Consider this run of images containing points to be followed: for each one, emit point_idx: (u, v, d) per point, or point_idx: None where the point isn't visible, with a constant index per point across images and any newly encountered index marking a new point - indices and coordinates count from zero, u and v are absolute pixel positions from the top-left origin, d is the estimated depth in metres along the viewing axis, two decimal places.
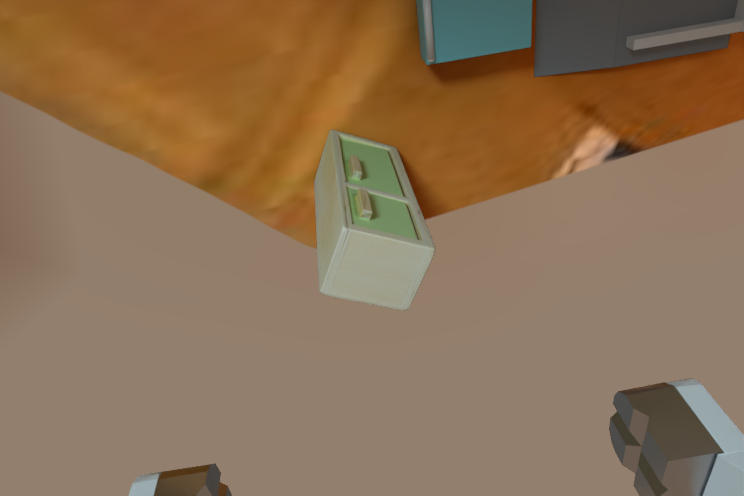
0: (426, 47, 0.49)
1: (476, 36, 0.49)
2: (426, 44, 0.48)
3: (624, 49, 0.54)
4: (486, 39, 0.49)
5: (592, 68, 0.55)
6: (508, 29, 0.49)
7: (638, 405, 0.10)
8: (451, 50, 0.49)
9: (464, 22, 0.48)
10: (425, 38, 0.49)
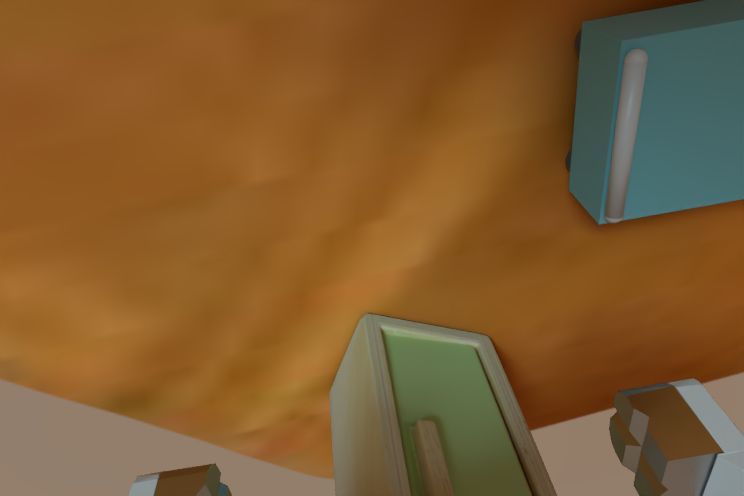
0: (608, 191, 0.20)
1: (727, 163, 0.20)
2: (609, 185, 0.20)
3: None
4: None
5: None
6: None
7: (638, 405, 0.10)
8: (662, 194, 0.21)
9: (706, 135, 0.20)
10: (607, 171, 0.20)
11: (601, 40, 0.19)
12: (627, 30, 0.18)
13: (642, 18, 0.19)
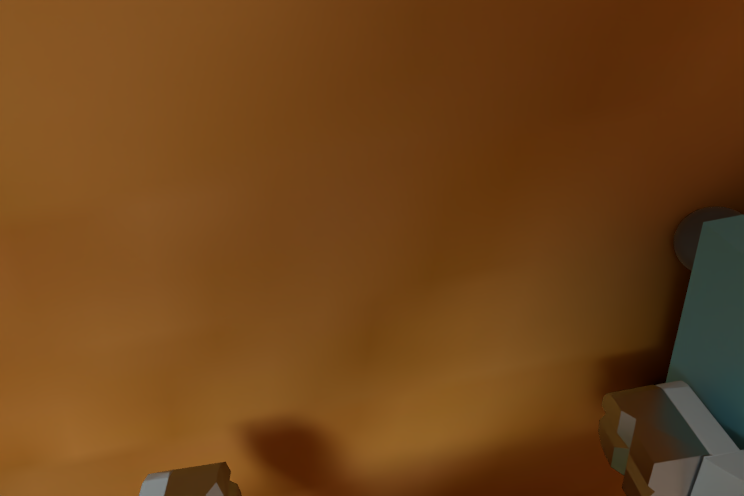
0: None
1: None
2: None
3: None
4: None
5: None
6: None
7: (625, 407, 0.10)
8: None
9: None
10: None
11: None
12: None
13: None
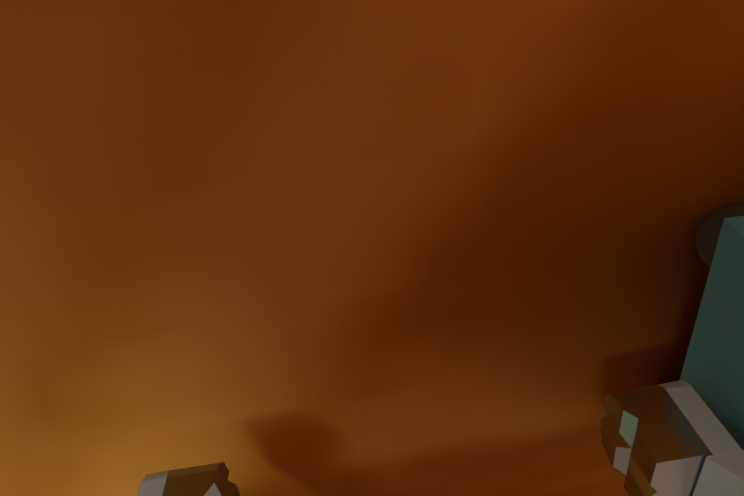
0: None
1: None
2: None
3: None
4: None
5: None
6: None
7: (628, 407, 0.10)
8: None
9: None
10: None
11: None
12: None
13: None
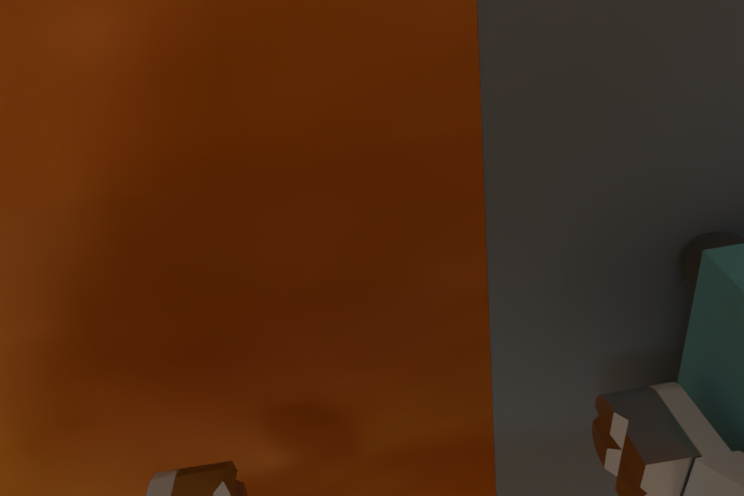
0: None
1: None
2: None
3: None
4: None
5: None
6: None
7: (618, 408, 0.10)
8: None
9: None
10: None
11: None
12: None
13: None
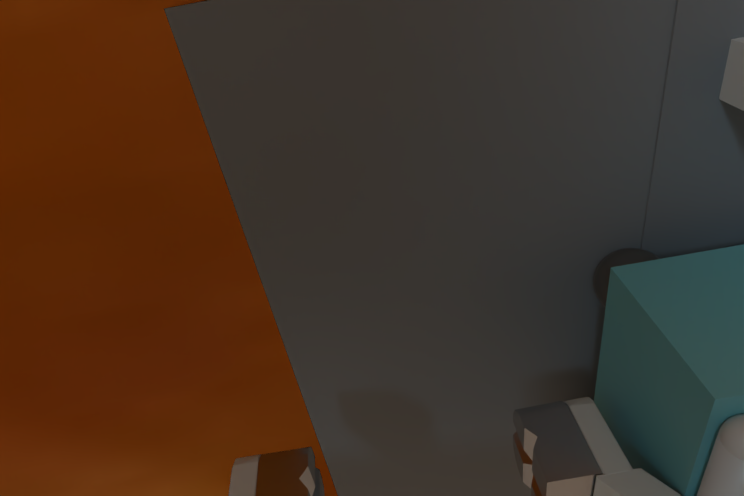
0: None
1: None
2: None
3: None
4: None
5: None
6: None
7: (529, 424, 0.10)
8: None
9: None
10: None
11: (655, 341, 0.08)
12: (718, 335, 0.08)
13: None
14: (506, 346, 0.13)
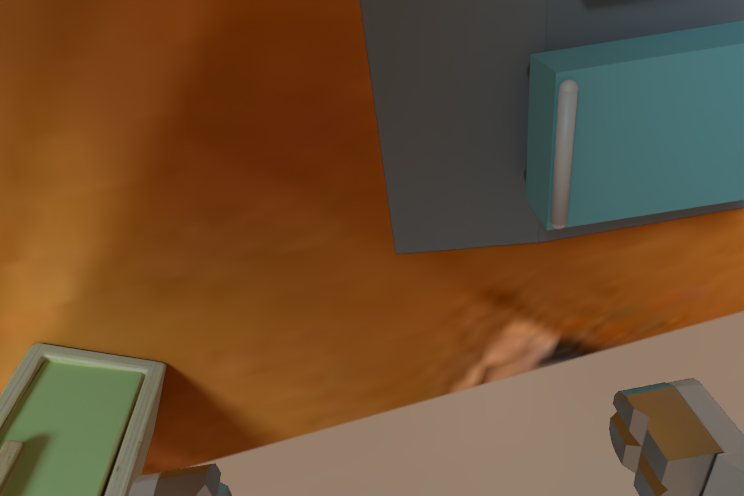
0: (552, 201, 0.23)
1: (657, 178, 0.23)
2: (553, 196, 0.23)
3: None
4: (675, 185, 0.23)
5: (499, 243, 0.30)
6: (725, 165, 0.23)
7: (638, 405, 0.10)
8: (601, 204, 0.24)
9: (637, 154, 0.22)
10: (551, 183, 0.23)
11: (543, 71, 0.22)
12: (563, 63, 0.21)
13: (580, 52, 0.22)
14: (485, 118, 0.26)
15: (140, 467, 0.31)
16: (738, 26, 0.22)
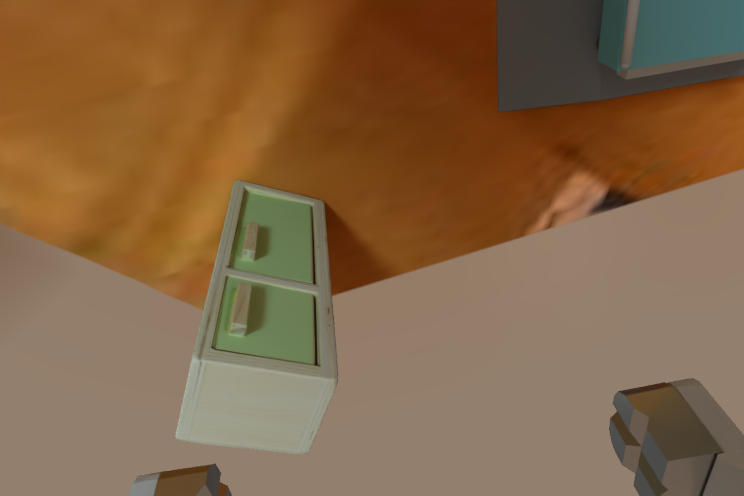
0: (622, 47, 0.35)
1: (691, 32, 0.36)
2: (623, 43, 0.35)
3: (614, 77, 0.41)
4: (702, 37, 0.36)
5: (573, 101, 0.42)
6: (735, 23, 0.35)
7: (638, 405, 0.10)
8: (653, 51, 0.36)
9: (678, 14, 0.35)
10: (622, 35, 0.35)
11: None
12: None
13: None
14: (571, 2, 0.38)
15: None
16: None
